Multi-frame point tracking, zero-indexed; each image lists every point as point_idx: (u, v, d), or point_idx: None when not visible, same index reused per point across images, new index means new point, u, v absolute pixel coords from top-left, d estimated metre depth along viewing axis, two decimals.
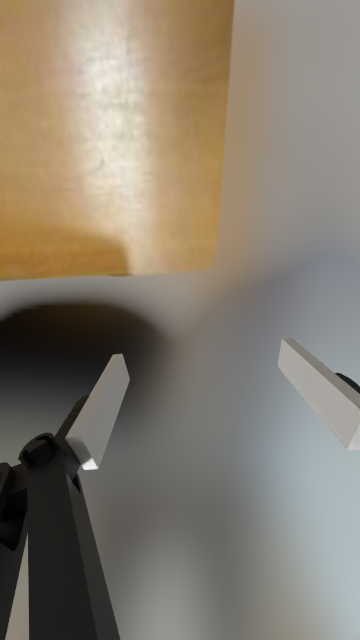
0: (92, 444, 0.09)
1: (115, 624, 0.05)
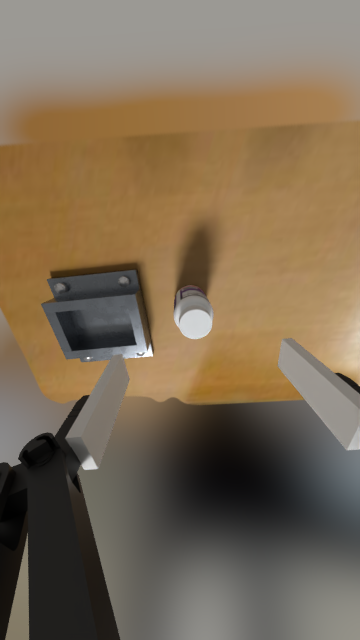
0: (92, 444, 0.09)
1: (115, 624, 0.05)
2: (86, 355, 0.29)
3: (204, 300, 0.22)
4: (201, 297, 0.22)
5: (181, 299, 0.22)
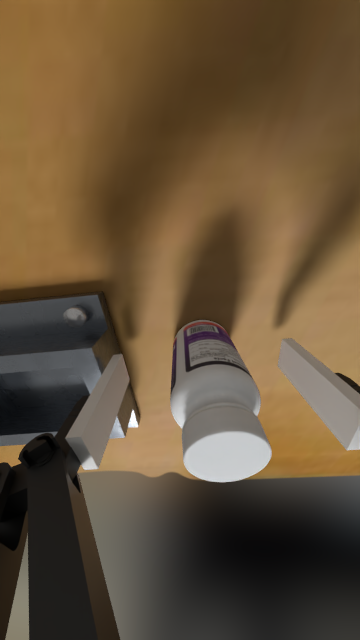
0: (92, 444, 0.09)
1: (115, 624, 0.05)
2: (17, 442, 0.16)
3: (243, 379, 0.09)
4: (235, 370, 0.09)
5: (188, 372, 0.10)
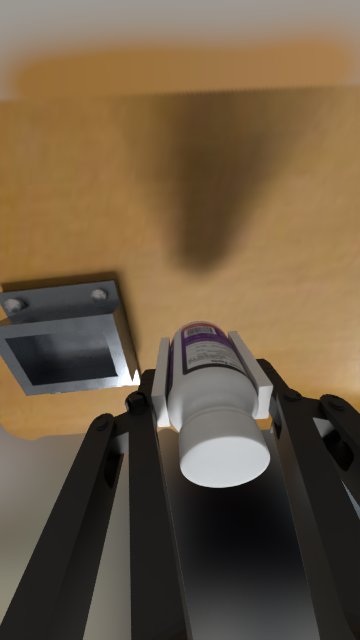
0: None
1: (181, 574, 0.06)
2: (52, 390, 0.22)
3: (241, 382, 0.09)
4: (233, 373, 0.09)
5: (185, 374, 0.10)
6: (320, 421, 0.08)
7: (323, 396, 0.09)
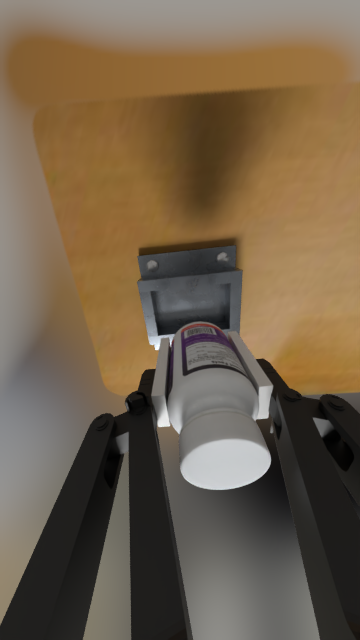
0: None
1: (181, 574, 0.06)
2: None
3: (241, 383, 0.09)
4: (233, 374, 0.09)
5: (185, 376, 0.09)
6: (320, 421, 0.08)
7: (323, 396, 0.09)
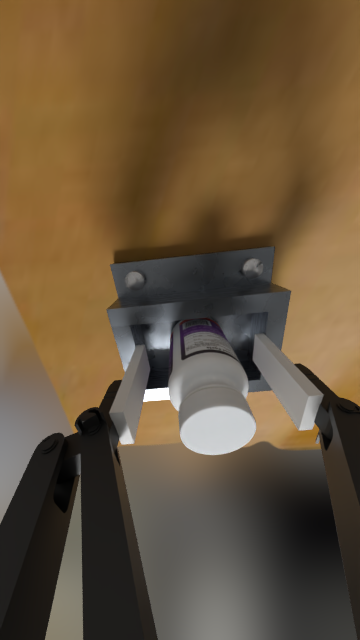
0: (129, 420, 0.10)
1: (147, 593, 0.06)
2: None
3: (232, 365, 0.10)
4: (225, 357, 0.10)
5: (183, 360, 0.11)
6: None
7: None
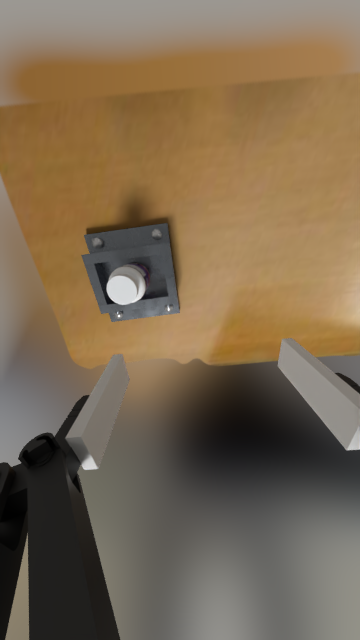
0: (92, 444, 0.09)
1: (115, 624, 0.05)
2: (120, 308, 0.30)
3: (133, 270, 0.24)
4: (130, 267, 0.24)
5: (113, 271, 0.24)
6: None
7: None
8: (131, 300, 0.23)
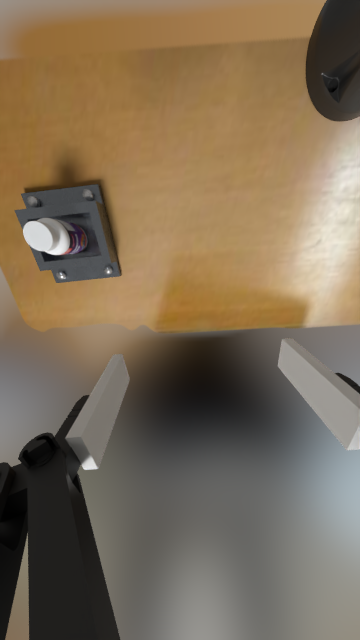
0: (92, 444, 0.09)
1: (115, 624, 0.05)
2: (57, 266, 0.33)
3: (53, 220, 0.26)
4: (52, 219, 0.26)
5: None
6: None
7: None
8: (48, 247, 0.25)
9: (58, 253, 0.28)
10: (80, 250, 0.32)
